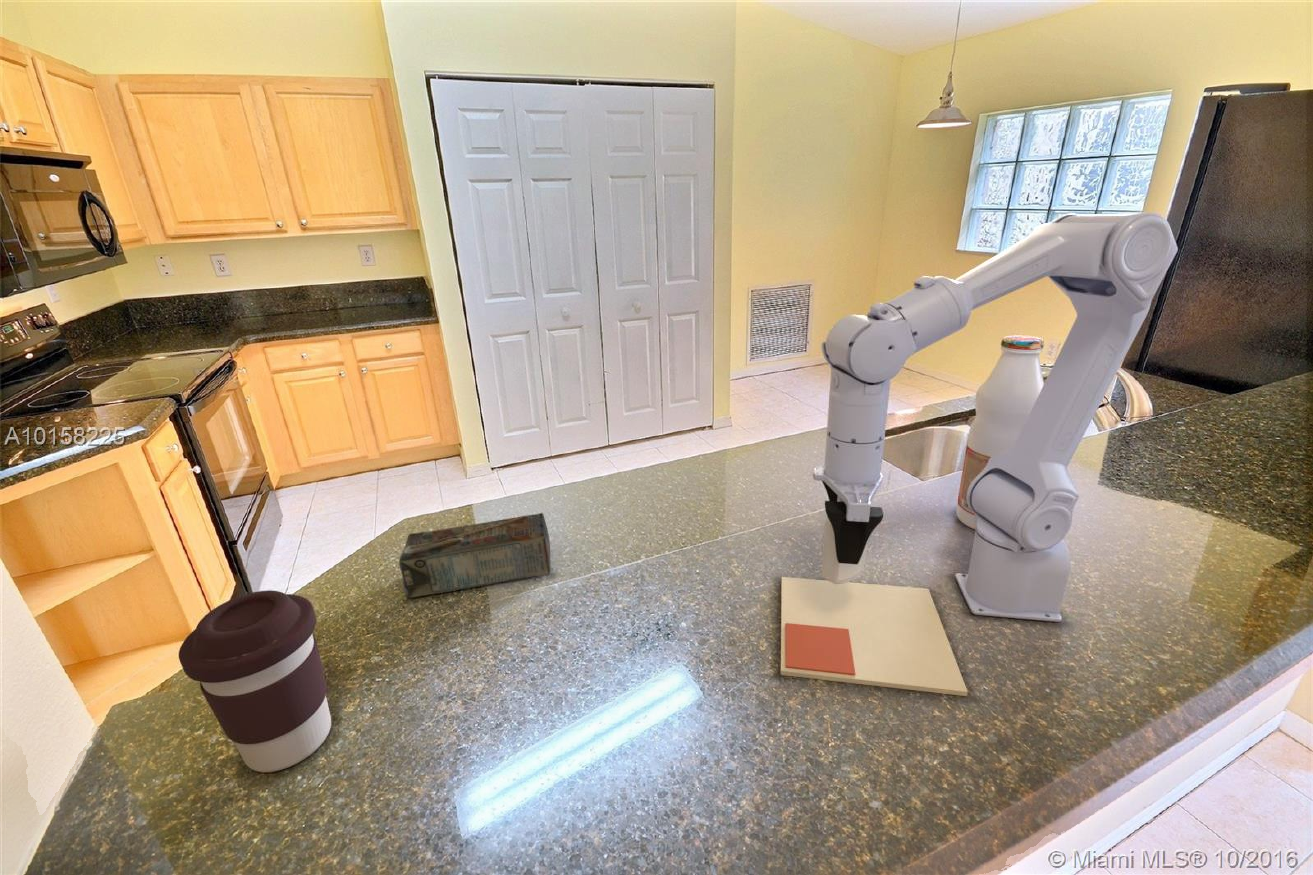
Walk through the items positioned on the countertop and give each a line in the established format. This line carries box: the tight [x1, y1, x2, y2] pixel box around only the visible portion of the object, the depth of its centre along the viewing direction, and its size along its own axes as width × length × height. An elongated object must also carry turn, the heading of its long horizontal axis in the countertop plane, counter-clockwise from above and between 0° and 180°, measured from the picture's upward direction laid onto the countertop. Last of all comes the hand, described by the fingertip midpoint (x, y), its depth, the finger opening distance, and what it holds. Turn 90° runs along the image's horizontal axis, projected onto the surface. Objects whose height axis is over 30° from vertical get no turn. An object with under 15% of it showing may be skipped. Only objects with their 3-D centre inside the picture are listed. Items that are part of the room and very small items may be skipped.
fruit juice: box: [956, 334, 1045, 531], centre depth 83 cm, size 9×9×28 cm
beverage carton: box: [398, 512, 551, 599], centre depth 80 cm, size 8×19×7 cm, turn 103°
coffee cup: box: [178, 589, 332, 773], centre depth 53 cm, size 10×10×15 cm
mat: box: [780, 576, 969, 697], centre depth 66 cm, size 18×17×1 cm
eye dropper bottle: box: [820, 496, 868, 584], centre depth 64 cm, size 4×6×12 cm
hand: (845, 547), depth 65 cm, fingers closed on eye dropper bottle, 5 cm apart
